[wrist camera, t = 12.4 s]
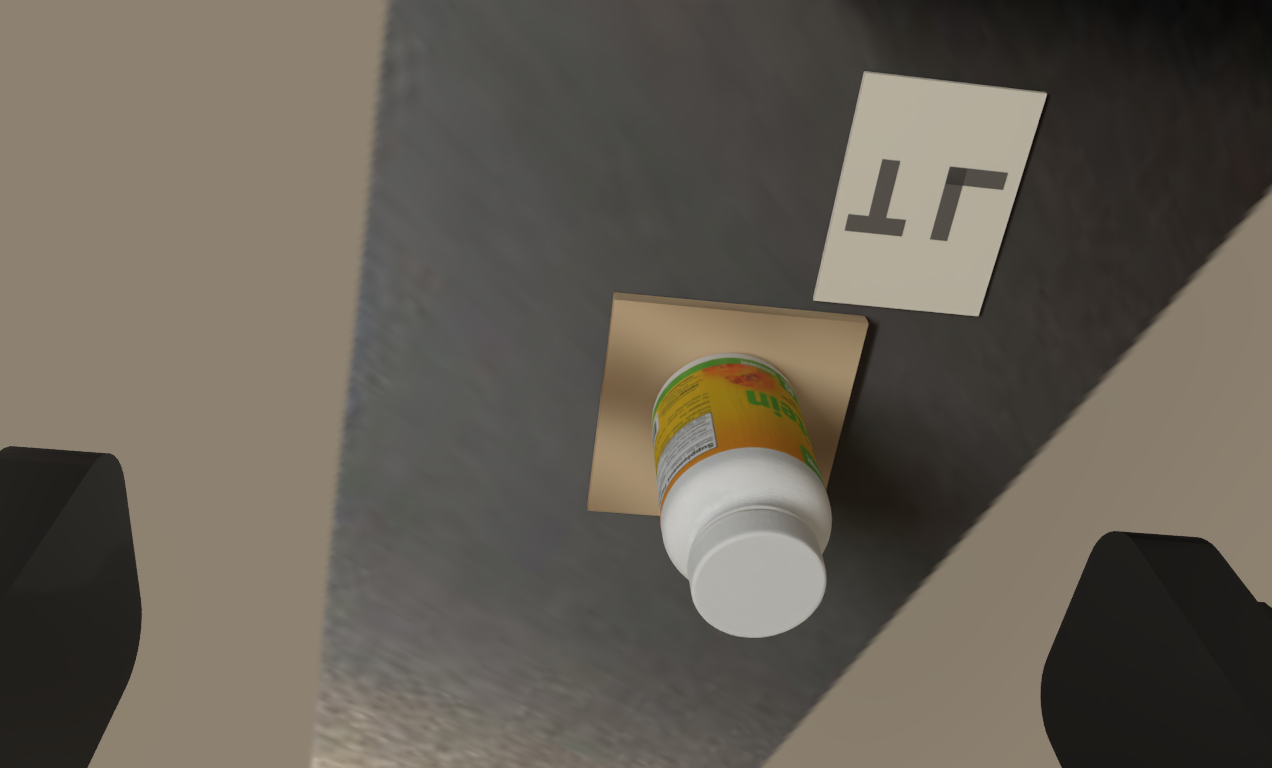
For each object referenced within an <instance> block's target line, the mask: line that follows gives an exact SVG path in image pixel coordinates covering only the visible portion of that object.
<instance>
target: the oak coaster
mask: <svg viewBox="0 0 1272 768" xmlns="http://www.w3.org/2000/svg"><path fill="white" fill-rule="evenodd" d="M868 324H869V323H868V321H867V319H866V317H865V316H860V315H850V314H839V313H828V312H818V311H807V310H797V309H786V308H776V307H765V306H755V305H744V304H734V303H723V302H713V301H702V300H692V299H681V298H670V297H660V296H649V295H639V294H628V293H618V292H614V296H613V304H612V312H611V320H610V328H609V336H608V344H607V352H606V360H605V367H604V375H603V383H602V391H601V399H600V407H599V415H598V423H597V431H596V439H595V447H594V454H593V462H592V470H591V478H590V486H589V494H588V511H601V512H614V513H628V514H641V515H654V516H660V512H659V501H658V491H657V482H656V469H655V458H654V448H653V439H652V414H653V408H654V404H655V401H656V399H657V396H658V394H659V392H660V390H661V389H662V387H663V386H664V384H665V383H666V382H667V380H668V379H669V378H670V377H671V376H672V375H673V374H674V373H676V372H677V371H678V370H679V369H681V368H682V367H684V366H685V365H687V364H688V363H690V362H692V361H694V360H696V359H699V358H701V357H704V356H708V355H713V354H719V353H740V354H745V355H750V356H753V357H756V358H759V359H761V360H763V361H765V362H767V363H769V364H771V365H772V366H773V367H775V368H776V369H777V370H778V371H779V372H781V373H782V374H783V376H784V377H785V378H786V379H787V380H788V382H789V383H790V385H791V387H792V388H793V390H794V393H795V395H796V398H797V400H798V403H799V406H800V410H801V413H802V417H803V420H804V423H805V426H806V429H807V432H808V436H809V439H810V442H811V445H812V449H813V452H814V455H815V458H816V461H817V464H818V468H819V471H820V474H821V477H822V480H823V483H824V486H825V489H827V485H828V481H829V477H830V473H831V469H832V465H833V461H834V457H835V453H836V449H837V446H838V442H839V438H840V434H841V430H842V426H843V422H844V418H845V414H846V410H847V406H848V403H849V399H850V395H851V391H852V387H853V383H854V379H855V375H856V371H857V367H858V363H859V360H860V356H861V352H862V348H863V344H864V340H865V336H866V332H867V328H868Z"/></svg>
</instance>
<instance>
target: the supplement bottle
mask: <svg viewBox="0 0 1272 768" xmlns="http://www.w3.org/2000/svg"><path fill="white" fill-rule="evenodd" d="M652 439H653V448H654V458H655V469H656V482H657V491H658V501H659V512H660V524H661V530H662V536H663V541H664V545H665V548H666V551H667V553H668V555H669V557H670V559H671V561H672V562H673V564H674V565H675V566H676V568H677V569H678V570H679V571H680V572H681V573H682V574H683V575H684V576H685V577H686V578H687V579H688V580H689V582H690V588H691V594H692V598H693V602H694V604H695V606H696V608H697V610H698V612H699V613H700V614H701V615H702V617H703V618H704V619H705V620H706V621H707V622H708V623H709V624H711V625H712V626H714V627H715V628H717V629H719V630H721V631H723V632H725V633H728V634H731V635H735V636H739V637H748V638H758V637H767V636H773V635H776V634H779V633H783V632H785V631H788V630H790V629H792V628H794V627H796V626H797V625H799V624H800V623H802V622H803V621H805V620H806V619H807V618H808V617H809V616H810V615H811V614H812V613H813V612H814V611H815V610H816V609H817V607H818V605H819V604H820V602H821V600H822V598H823V595H824V592H825V588H826V579H827V577H826V570H825V565H824V561H823V557H822V554H823V552H824V550H825V548H826V546H827V543H828V541H829V538H830V534H831V527H832V514H831V507H830V503H829V499H828V495H827V492H826V489H825V486H824V483H823V480H822V477H821V474H820V471H819V468H818V464H817V461H816V458H815V455H814V452H813V449H812V445H811V442H810V439H809V436H808V432H807V429H806V426H805V423H804V420H803V417H802V413H801V410H800V406H799V403H798V400H797V398H796V395H795V393H794V390H793V388H792V387H791V385H790V383H789V382H788V380H787V379H786V378H785V377H784V376H783V374H782V373H781V372H779V371H778V370H777V369H776V368H775V367H773V366H772V365H771V364H769V363H767V362H765V361H763V360H761V359H759V358H756V357H753V356H750V355H745V354H740V353H719V354H713V355H708V356H704V357H701V358H699V359H696V360H694V361H692V362H690V363H688V364H687V365H685V366H684V367H682V368H681V369H679V370H678V371H677V372H676V373H674V374H673V375H672V376H671V377H670V378H669V379H668V380H667V382H666V383H665V384H664V386H663V387H662V389H661V390H660V392H659V394H658V396H657V399H656V401H655V404H654V408H653V414H652Z"/></svg>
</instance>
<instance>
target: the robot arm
mask: <svg viewBox="0 0 1272 768" xmlns="http://www.w3.org/2000/svg"><path fill="white" fill-rule="evenodd" d="M141 611H142V608H141V597H140V590H139V582H138V575H137V568H136V560H135V553H134V546H133V538H132V531H131V524H130V516H129V509H128V502H127V494H126V487H125V480H124V475H123V471H122V468H121V465H120V463H119V461H118V459H117V458H116V457H115V456H114V455H112V454H109V453H108V454H107V453H94V452H81V451H68V450H55V449H41V448H28V447H15V446H14V447H13V446H9V447H6V448H4V449H2V450H1V451H0V768H87V767H88V765H89V763H90V761H91V759H92V757H93V755H94V753H95V750H96V749H97V746H98V744H99V742H100V740H101V738H102V736H103V734H104V732H105V730H106V728H107V725H108V723H109V721H110V719H111V717H112V715H113V713H114V711H115V709H116V707H117V705H118V703H119V700H120V699H121V696H122V694H123V692H124V690H125V688H126V686H127V684H128V681H129V679H130V675H131V673H132V670H133V666H134V664H135V660H136V656H137V651H138V646H139V640H140V632H141V618H142V616H141V615H142V612H141ZM1041 709H1042V716H1043V722H1044V726H1045V729H1046V733H1047V735H1048V738H1049V741H1050V743H1051V745H1052V747H1053V749H1054V752H1055V754H1056V756H1057V758H1058V760H1059V763H1060V765H1061V767H1062V768H1272V608H1271V607H1270V606H1268V605H1267V604H1266V603H1264V602H1257V600H1256V599H1255V598H1254V596H1253V595H1252V594H1251V593H1250V591H1249V590H1248V589H1247V587H1246V586H1245V585H1244V583H1243V582H1242V581H1241V580H1240V578H1239V577H1238V576H1237V574H1236V573H1235V572H1234V570H1233V569H1232V568H1231V567H1230V565H1229V564H1228V563H1227V561H1226V560H1225V559H1224V557H1223V556H1222V555H1221V554H1220V552H1219V551H1218V550H1217V549H1216V548H1215V547H1214V546H1213V545H1212V544H1211V543H1209V542H1208V541H1206V540H1204V539H1202V538H1198V537H1186V536H1173V535H1159V534H1146V533H1145V534H1144V533H1132V532H1119V531H1113V532H1109V533H1107V534H1105V535H1104V536H1102V537H1101V538H1100V539H1099V540H1098V542H1097V543H1096V544H1095V546H1094V548H1093V550H1092V552H1091V554H1090V556H1089V558H1088V561H1087V563H1086V566H1085V568H1084V570H1083V573H1082V575H1081V578H1080V580H1079V582H1078V585H1077V587H1076V590H1075V592H1074V594H1073V597H1072V599H1071V602H1070V604H1069V607H1068V609H1067V611H1066V614H1065V616H1064V619H1063V621H1062V623H1061V626H1060V628H1059V631H1058V633H1057V635H1056V638H1055V640H1054V643H1053V645H1052V648H1051V650H1050V652H1049V655H1048V657H1047V660H1046V663H1045V666H1044V670H1043V674H1042V681H1041Z"/></svg>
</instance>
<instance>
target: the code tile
mask: <svg viewBox="0 0 1272 768" xmlns="http://www.w3.org/2000/svg"><path fill="white" fill-rule="evenodd" d="M1046 96H1047V93H1045V92H1039V91H1030V90H1022V89H1013V88H1005V87H996V86H988V85H979V84H971V83H962V82H954V81H945V80H937V79H928V78H920V77H911V76H902V75H894V74H885V73H877V72H868V71H864V74H863V78H862V82H861V87H860V91H859V96H858V100H857V105H856V109H855V114H854V118H853V122H852V127H851V131H850V136H849V140H848V145H847V149H846V154H845V158H844V162H843V167H842V171H841V176H840V180H839V185H838V189H837V194H836V198H835V202H834V207H833V211H832V216H831V220H830V225H829V229H828V234H827V238H826V242H825V247H824V251H823V256H822V260H821V265H820V269H819V274H818V278H817V282H816V287H815V291H814V296H813V299H814V301H824V302H834V303H845V304H855V305H866V306H876V307H886V308H897V309H907V310H918V311H928V312H939V313H949V314H959V315H970V316H979V313H980V310H981V306H982V303H983V300H984V297H985V293H986V290H987V287H988V284H989V280H990V277H991V274H992V271H993V268H994V264H995V261H996V258H997V255H998V251H999V248H1000V245H1001V242H1002V238H1003V235H1004V232H1005V229H1006V225H1007V222H1008V219H1009V216H1010V213H1011V209H1012V206H1013V203H1014V200H1015V196H1016V193H1017V190H1018V187H1019V183H1020V180H1021V177H1022V174H1023V171H1024V167H1025V164H1026V161H1027V158H1028V154H1029V151H1030V148H1031V145H1032V141H1033V138H1034V135H1035V132H1036V129H1037V125H1038V122H1039V119H1040V116H1041V112H1042V109H1043V106H1044V103H1045V99H1046Z"/></svg>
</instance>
